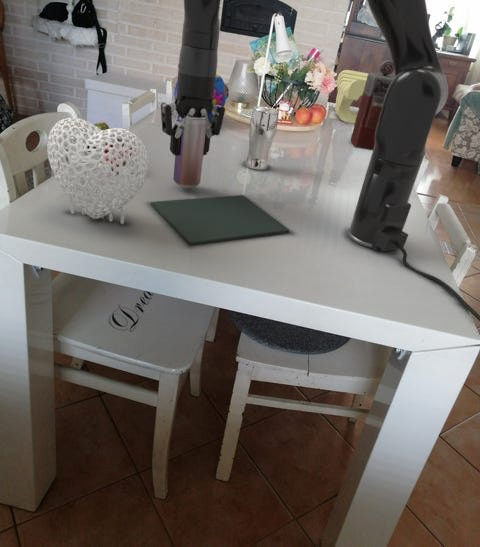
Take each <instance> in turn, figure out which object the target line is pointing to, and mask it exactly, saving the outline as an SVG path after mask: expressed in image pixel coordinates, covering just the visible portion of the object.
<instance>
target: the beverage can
mask: <svg viewBox="0 0 480 547" xmlns="http://www.w3.org/2000/svg"><path fill="white" fill-rule="evenodd" d="M184 117H185V116H184ZM183 119H184V118H181V117H179V118H178V122H180V123H181V122H182V120H183ZM206 125H207V121H206V117H204V118H203V117H201V116H199V117H194V116H193V117H188V116H187V120H186V122H185V128H184V129H182V134H181V136H180V137H179V138H180V150H179V156H175V155H174V165H173V166H174V167H173V177H172V178H173V181H174V184H176V185H177V186H179V187H181V188H196V187H198V186H199V185H200V184H201V180H202V169H203V161H204V155H203V153H204V143H205V134H206Z"/></svg>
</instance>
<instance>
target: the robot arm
mask: <svg viewBox="0 0 480 547" xmlns="http://www.w3.org/2000/svg"><path fill="white" fill-rule="evenodd" d="M366 2H367V6H368V8H369V10H370V13H371V15H372V17H373V18H374V21H375V22H376V25H377V27H378V28H379V30H380V32H381V34H382V36H383V38H384V40H385V41H386V44H387V47H388V50H389V54H390V57H391V62H392V63H393V66H394V70H393V73H394V77H395V78H394V79H393V80H392V82H391V83H390V85H389V87H388V90H387V92H386V95H385V98H384V101H383V105H382V109H381V112H380V116H379V120H378V124H377V128H376V132H375V145H374V149H373V150H372V153H371V156H370V159H369V163H368V166H367V169H366V172H365V176H364V179H363V183H362V186H361V189H360V193H359V196H358V199H357V203H356V206H355V209H354V213H353V215H352V219H351V223H350V227H349V228H348V231H347V236H348V237H349V239H351V240H352V241H353V242H355V243H357V244H358V245H360V246H363V247H366V248H369V249H372V250H373V251H375V252H378V251H383V252H389V251H392V250H393V251H394V250H400V251H401V253H402V258H401V261H402V262H401V263H402V264H403V266H405V268H406V269H408V270H410V271H412V272H414V273H416V274H417V275H420V276H422V277H424V278H425V279H429V280H431V281H433V282H436V283H437V284H439V285H441V287H443V288H444V289H445V290H447V291H448V292H449V293H450V294H451V295H452V296H453V297H454V298H455V299H456V300H457V301H458V302H459V303H460V304H461V305H462V306H463V307H464V308H465V310H467V311H468V312H469V313H470V314H471V315H472V316H474V318H476V320H477V321H478V322H480V314H479V313H478V312H477V311H476V310H475V309H474V308H473V307H471V306H470V305H469V304H468V303H467V302H466V301H465V299H463V297H461V296H460V294H459V293H457V291H455V290H454V289H453V287H451V286H450V285H448V284H447V283H446V282H445V281H443V280H441V279H440V278H438V277H436V276H434V275H432V274H430V273H426V272H424V271H420V270H418V269H416V268H414V267H412V265H410V264H409V263H408V261H407V258H408V253H407V251H406V249H405V245H406V242H407V239H408V237H409V234H408V233H407V232H405V231H403V230H404V227H405V224H406V222H407V219H408V217H409V213H410V211H411V209H412V204H411V203H410V202H409V200H410V198H411V194H412V192H413V189H414V186H415V183H416V180H417V178H418V175H419V171H420V168H421V166H422V164H423V160H424V158H425V155H426V147H427V140H428V138H429V135H430V132H431V128H432V127H433V123H434V120H435V117H436V116H437V115H438V114H439V113H441V111H442V109H443V108H444V107H445V105H446V103H447V100H448V97H449V85H448V81H447V78H446V75H445V72H444V70H443V67H442V64H441V60H440V59H439V56H438V52H437V49H436V47H435V44H434V40H433V37H432V32H431V28H430V22H429V15H428V8H427V1H426V0H366ZM220 7H221V0H183V9H184V10H183V12H184V16H183V17H184V18H183V24H182V35H181V36H182V37H181V46H180V51H179V56H178V64H177V80H176V83H177V98H176V100H175V99H174V102H173V103H172V102H171V103H166V102H162V103H160V116H161V130H162V132H163V133H164V134H166V135H167V136H170V139H169V140H170V143H169V150H170V152H171V154H172V155H174V157H175V156H179V150H180V138H179V137H180V136H181V134H182V129H184V128H185V122H186V120H187V116H188V117H193V116H194V117H199V116H201V117H203V118H204V117H206V121H207V125H206V134H205V143H204V153H203V156H207V154H208V153H209V151H210V145H211V139H212V137H213V136H219V135H220V133H221V128H222V126H223V122H224V121H223V120H224V117H225V113H226V108H225V106H224V107H222V106H220V105H218V104H217V105H213V102H212V99H213V97H214V89H215V80H216V74H217V71H218V70H217V69H218V52H219V51H218V49H219V42H220V41H219V40H220V32H221V20H220V18H219V17H220ZM174 112H176V113H177V115H176V116H175V118H174V120H173V117H172V116H173V115H174ZM211 112H212V114H213V117H212V119H211V121H210V119H209V120H208V116H209V114H210V113H211ZM184 116H185V117H184ZM179 117H181V118H184V119H183V120H182V122H181V123H180V122H178V118H179Z"/></svg>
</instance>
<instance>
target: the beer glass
mask: <svg viewBox="0 0 480 547" xmlns="http://www.w3.org/2000/svg"><path fill="white" fill-rule="evenodd" d="M279 114H280V111H279V110H278V109H276V108H273V107H270V106H269V107H268V106H263V105H255V106H253V110H252V113H251V116H250V123H249V134H248V142H249V144H248V148H249V149H248V154H247V158H246V160H245V167H247V168H249V169H251V170H257V171H264V170H268V167H269V166H268V164H269V163H268V162H269V154H270V149H271V147H272V145H273V142H274V139H275V137H276V133H277V129H278V122H279Z"/></svg>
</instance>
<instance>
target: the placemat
mask: <svg viewBox="0 0 480 547" xmlns="http://www.w3.org/2000/svg"><path fill="white" fill-rule="evenodd" d="M150 205H151V206H152V207H153V209H155V210H156V211H157V213H158V214H160V216H161V217H162V218H163V219H164V220H165V221H166V222H167V223H168V224H169V225H170V227H172V228H173V229H174V231H175V232H177V234H179V236H181V238H182V239H183V240H184V241H185V242H186V243H187V244H188V245H189V246H195V245H196V246H197V245H201V244H202V245H203V244H209V243H219V242H225V241H226V242H227V241H233V240H242V239H249V238H257V237H265V236H272V235H281V234H288V233H290V229H289V228H288V227H287V226H285V225H284V224H282V223H281V222H280V221H279V220H277V219H276V218H274V217H273V216H272V215H270V214H269V213H267V212H266V211H265V210H263V209H262V208H261V207H259V206H258V205H257V204H256V203H254V202H253V201H252V200H250V199H249V198H248V197H247V196H245V195H243V194H238V195H228V196H227V195H226V196H215V197H214V196H212V197H211V196H210V197H200V198H197V197H196V198H185V199H173V200H171V199H170V200H160V201H158V200H157V201H151V202H150Z"/></svg>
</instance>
